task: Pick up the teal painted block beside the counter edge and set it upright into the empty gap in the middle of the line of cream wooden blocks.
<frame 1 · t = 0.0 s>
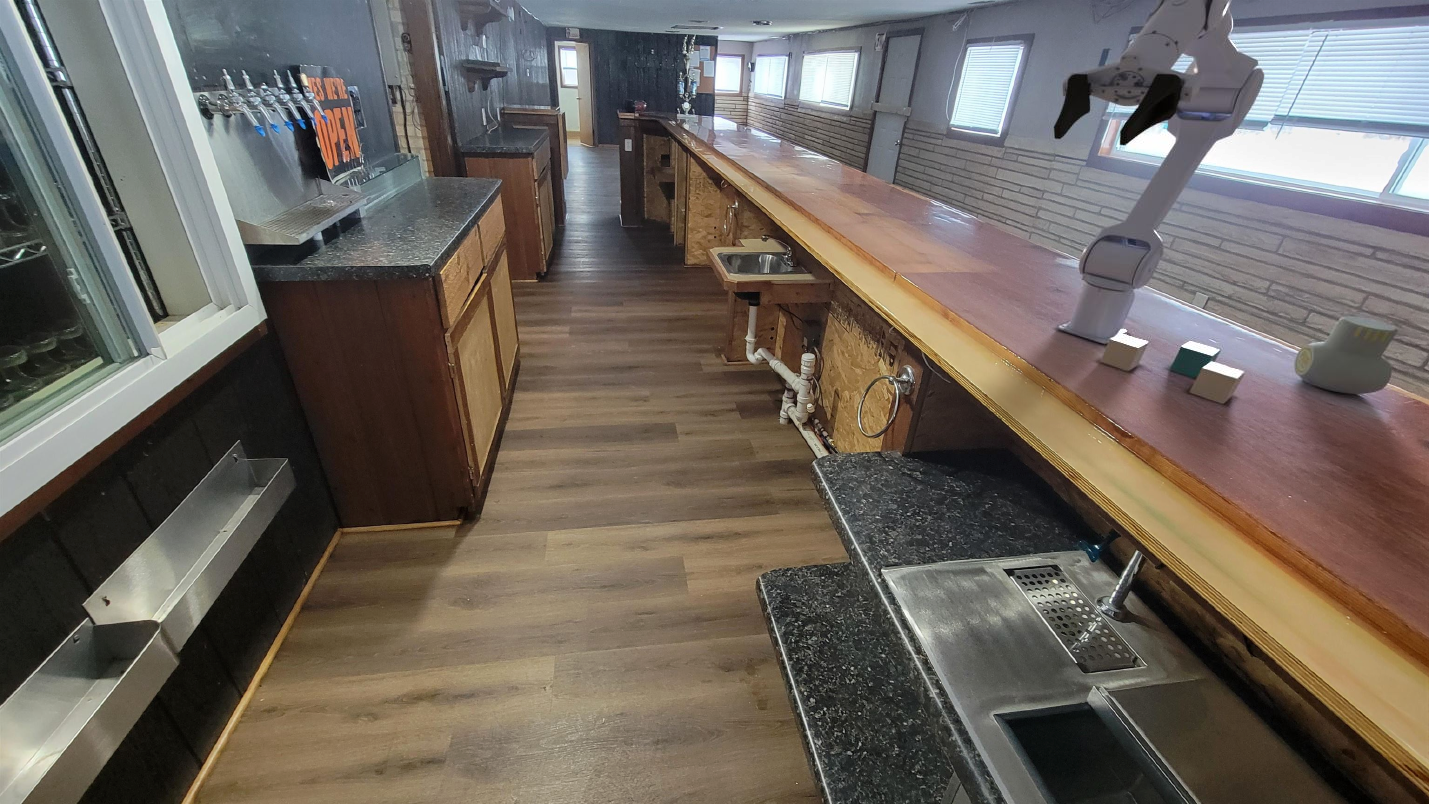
hand: (1088, 135, 69), 32 cm above the counter, tool tilted 50°, fingers open, 7 cm apart
teal block: (1188, 371, 87), on the counter
line block 2: (1210, 394, 81), on the counter
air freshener: (1327, 386, 85), on the counter
line block 1: (1119, 363, 89), on the counter
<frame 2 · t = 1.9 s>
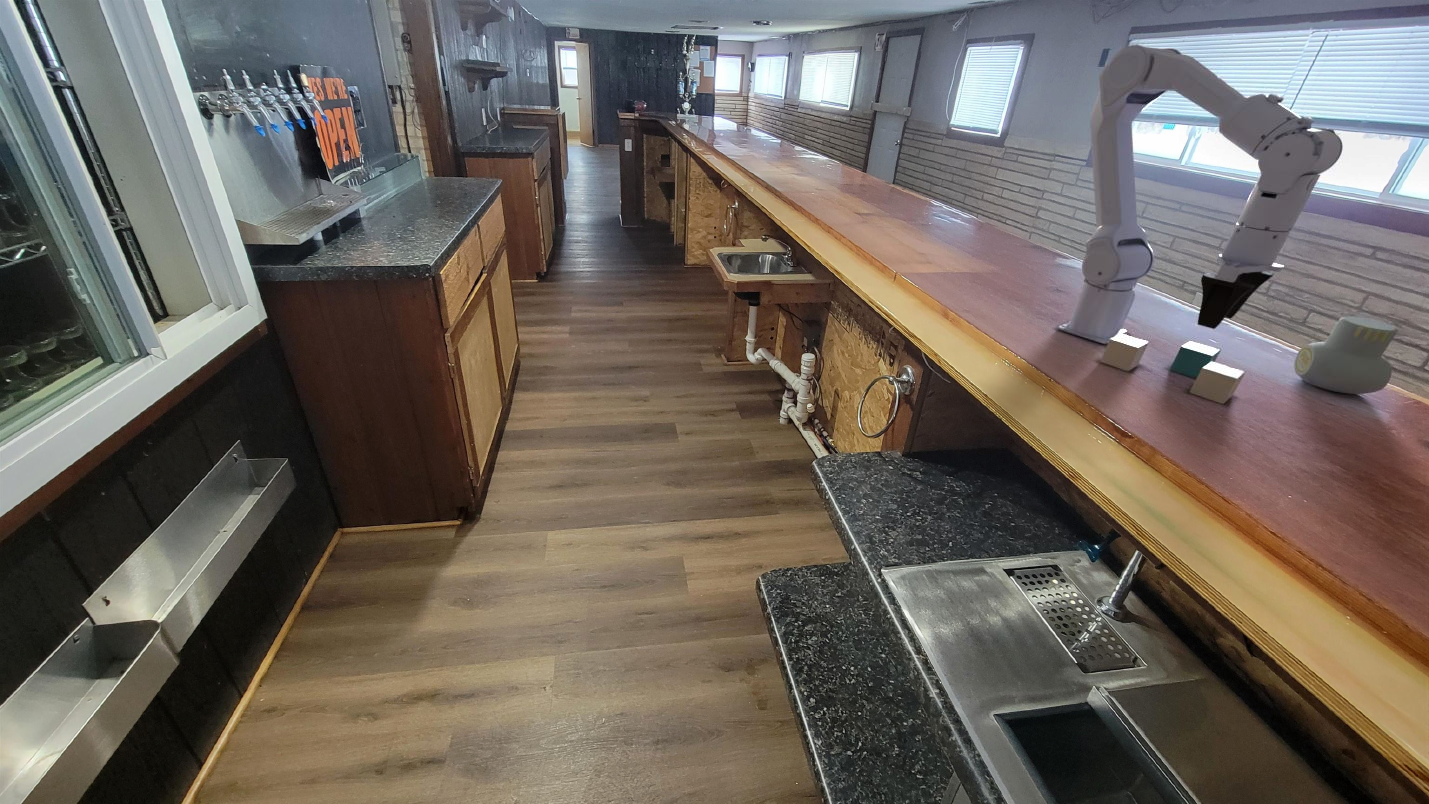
hand: (1214, 321, 83), 8 cm above the counter, tool pointing down, fingers open, 7 cm apart
nothing on the counter moved.
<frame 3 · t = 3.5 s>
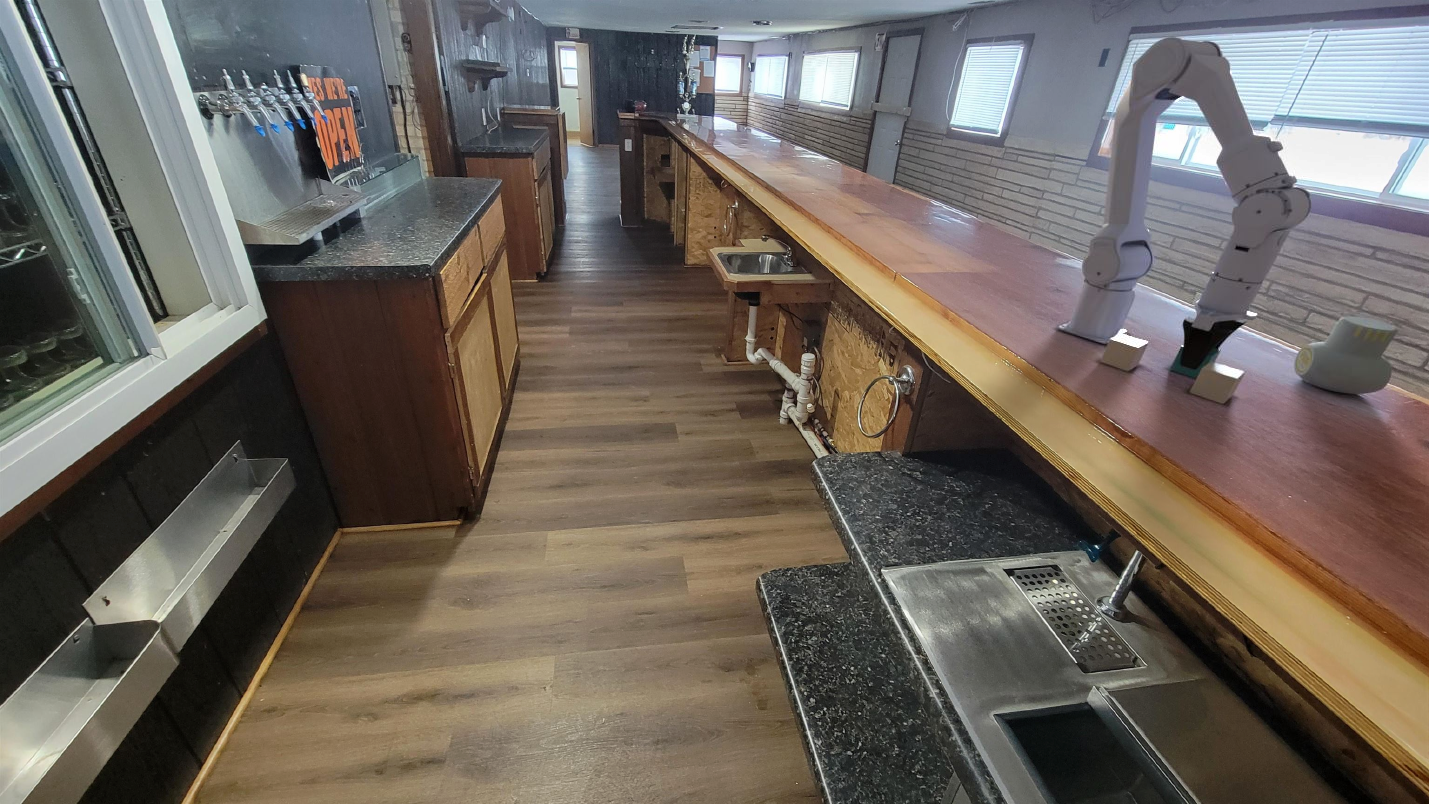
hand: (1193, 363, 86), 1 cm above the counter, tool pointing down, fingers closed on teal block, 4 cm apart
teal block: (1189, 371, 87), on the counter, touching gripper
everything else where it was.
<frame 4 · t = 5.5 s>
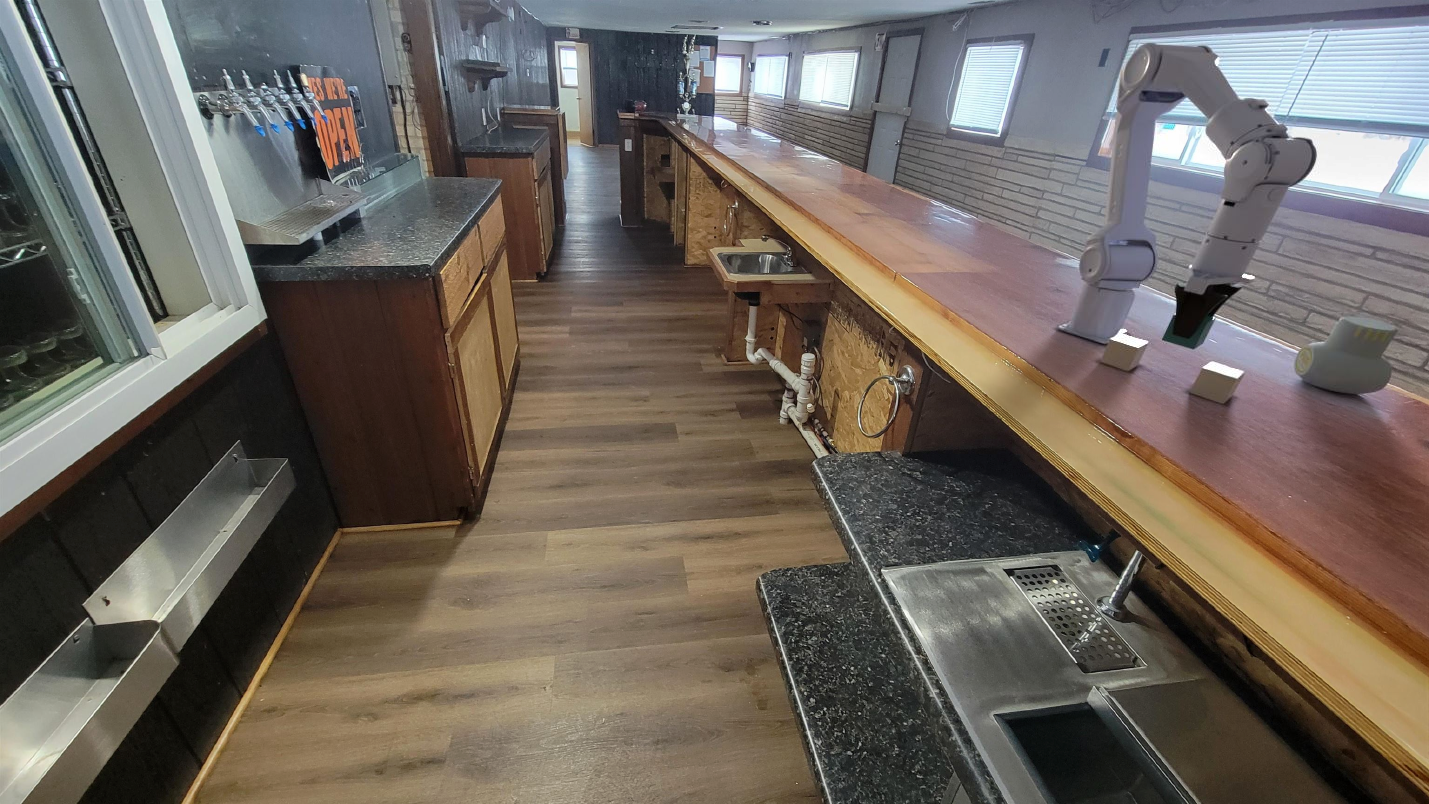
hand: (1186, 332, 81), 7 cm above the counter, tool pointing down, fingers closed on teal block, 4 cm apart
teal block: (1182, 341, 82), point 6 cm above the counter, touching gripper
everything else where it was.
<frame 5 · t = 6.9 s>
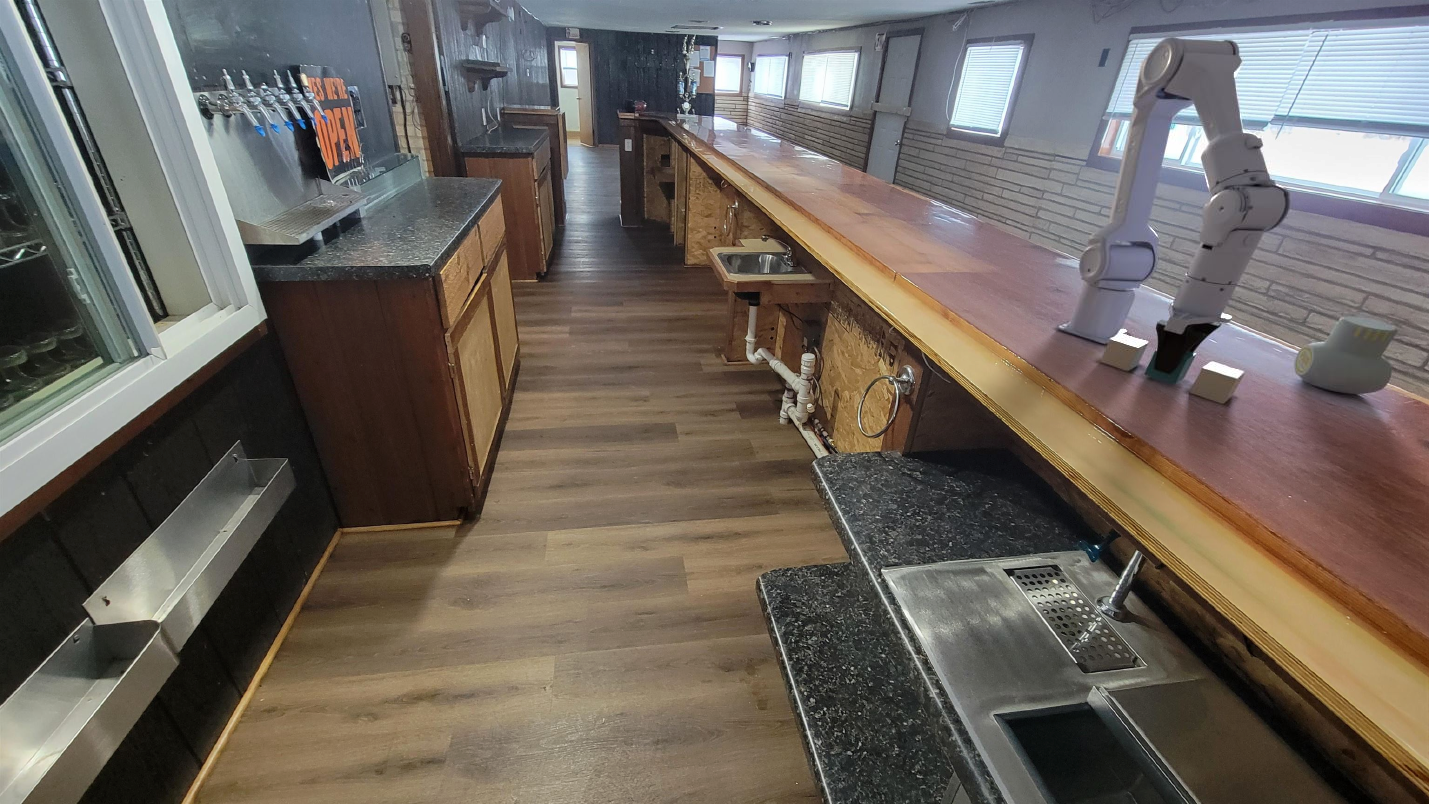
hand: (1167, 367, 84), 2 cm above the counter, tool pointing down, fingers closed on teal block, 4 cm apart
teal block: (1164, 376, 84), on the counter, touching gripper
everything else where it was.
when the fingers open (1 cm above the counter, at t = 7.4 s): teal block stays where it is, on the counter.
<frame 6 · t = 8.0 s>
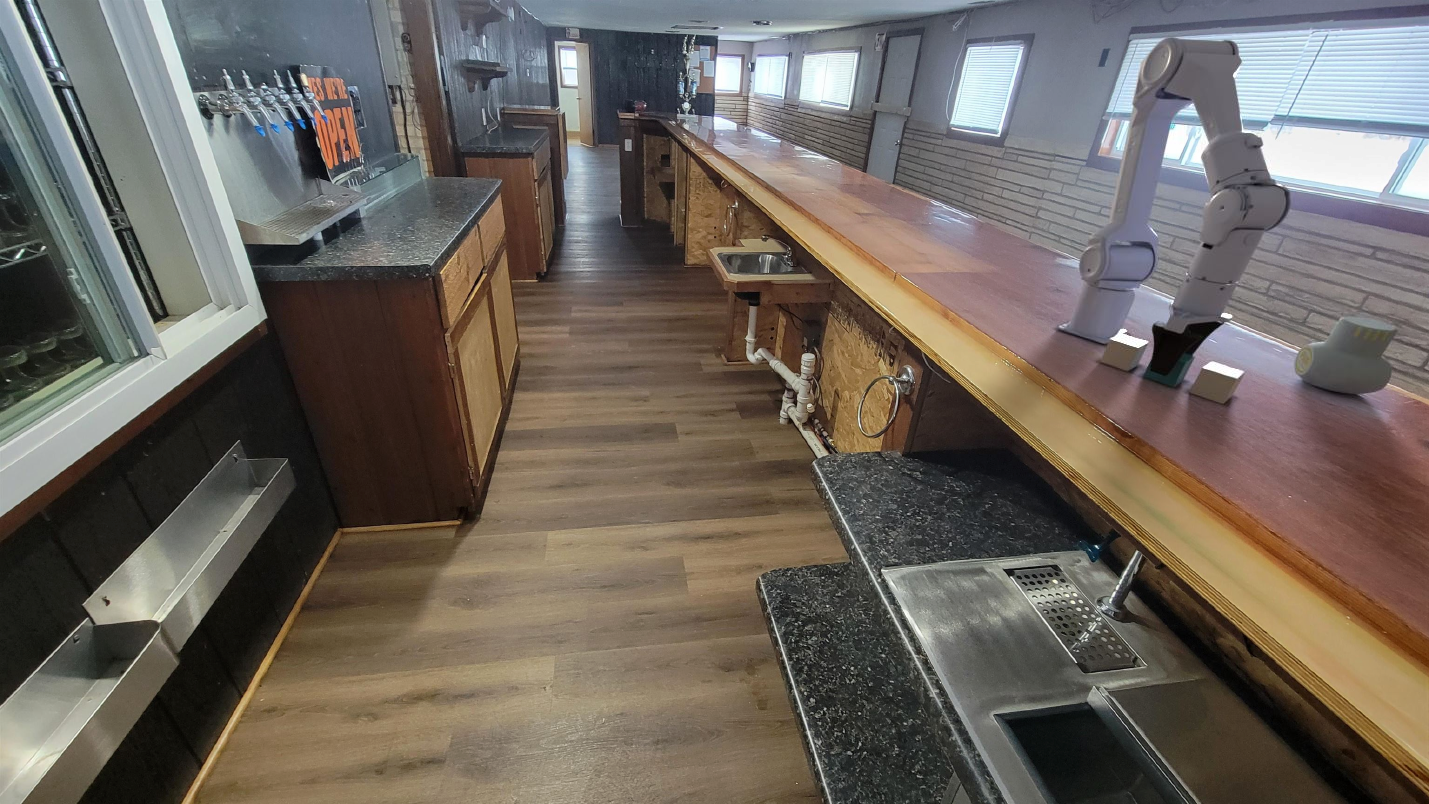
hand: (1168, 366, 84), 2 cm above the counter, tool pointing down, fingers open, 7 cm apart
teal block: (1162, 378, 85), on the counter
everything else where it was.
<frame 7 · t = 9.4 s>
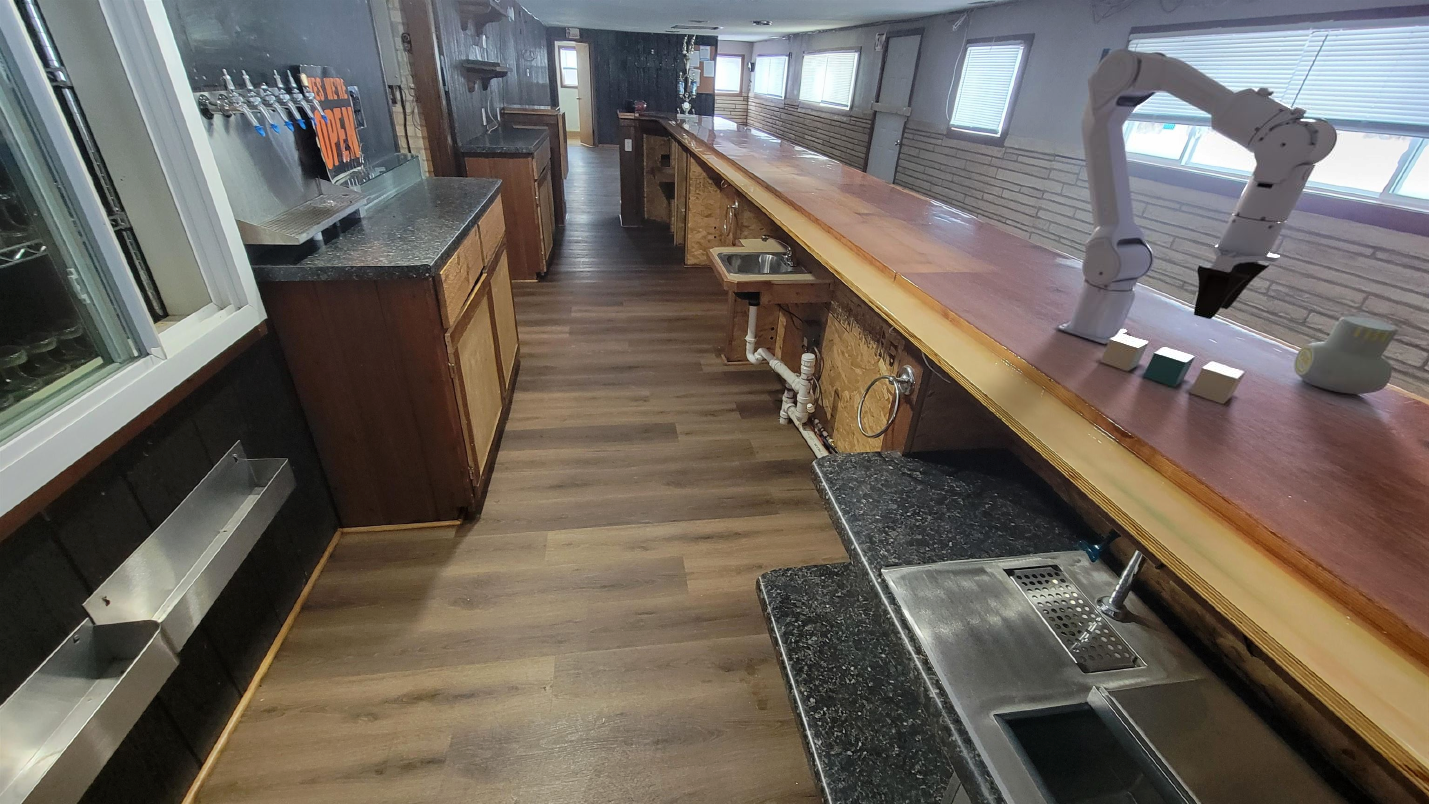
hand: (1211, 311, 83), 9 cm above the counter, tool pointing down, fingers open, 7 cm apart
nothing on the counter moved.
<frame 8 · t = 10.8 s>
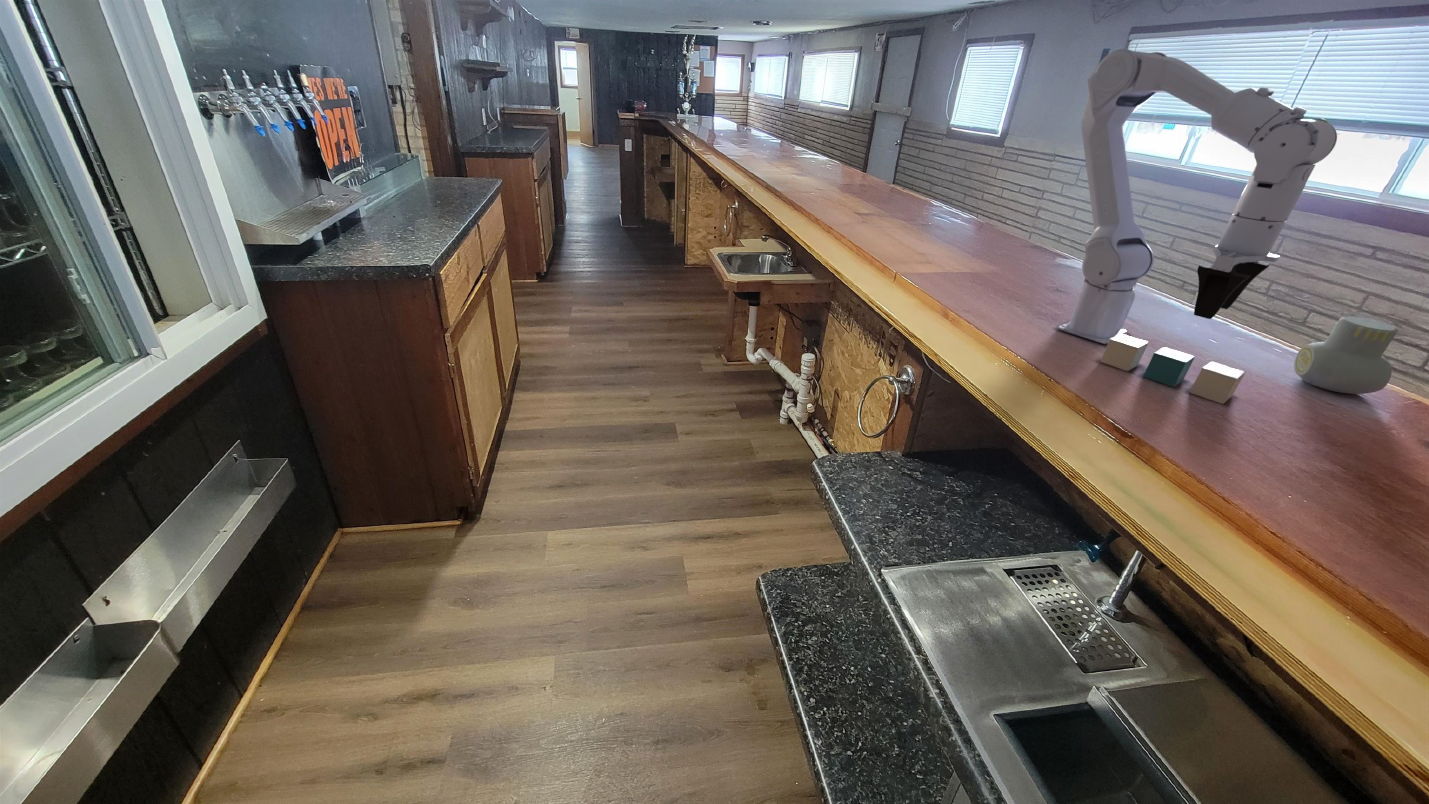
hand: (1211, 311, 83), 9 cm above the counter, tool pointing down, fingers open, 7 cm apart
nothing on the counter moved.
at the end: teal block 0.1 cm from the target spot, on the counter; teal block tilted 0°; line block 2 moved 0.0 cm from its start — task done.
